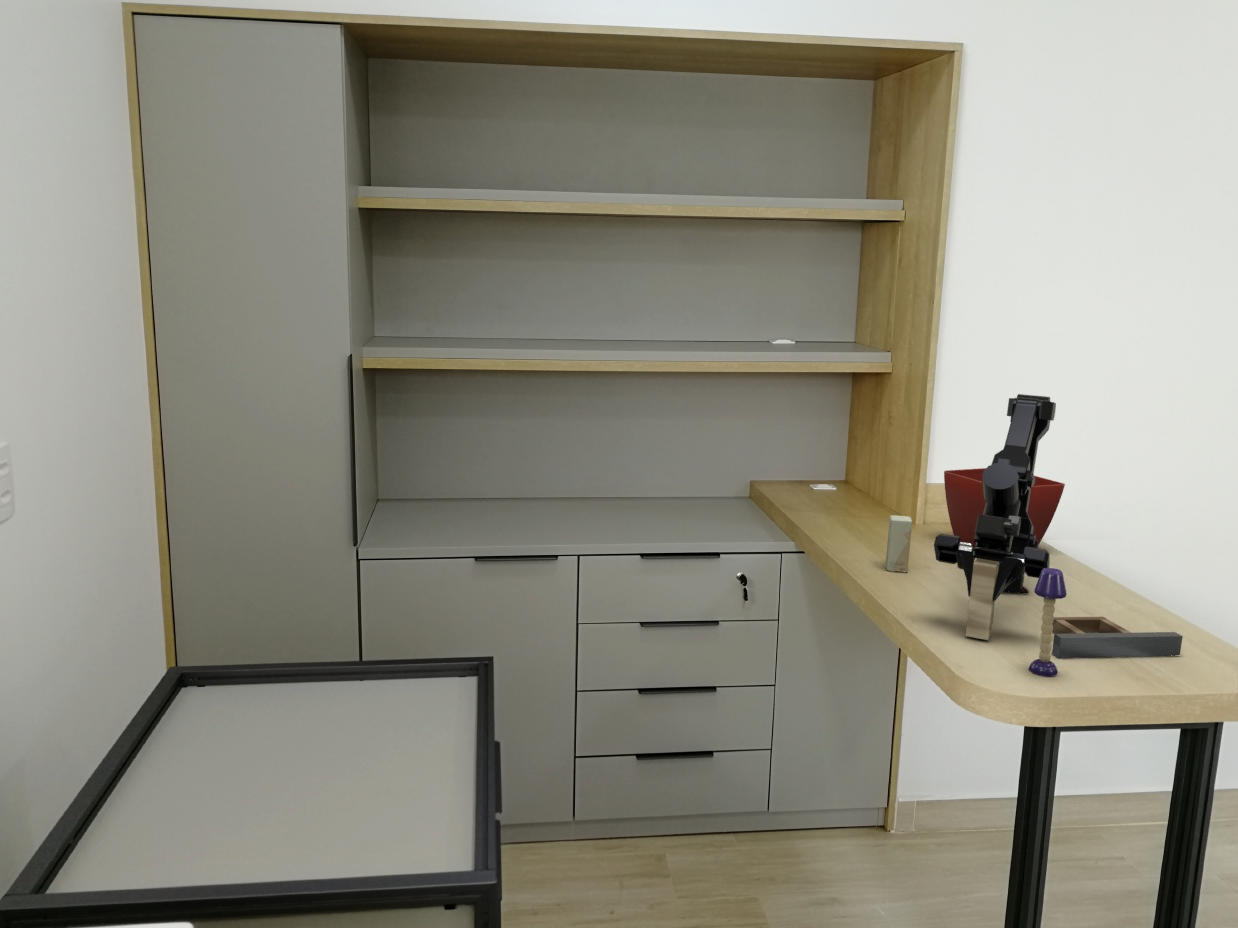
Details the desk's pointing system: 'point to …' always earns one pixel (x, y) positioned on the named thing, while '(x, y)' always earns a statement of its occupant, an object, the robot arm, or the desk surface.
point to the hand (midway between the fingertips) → (981, 597)
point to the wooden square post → (982, 599)
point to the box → (898, 543)
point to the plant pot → (970, 502)
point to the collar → (1085, 625)
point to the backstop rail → (1116, 645)
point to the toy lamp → (1048, 618)
